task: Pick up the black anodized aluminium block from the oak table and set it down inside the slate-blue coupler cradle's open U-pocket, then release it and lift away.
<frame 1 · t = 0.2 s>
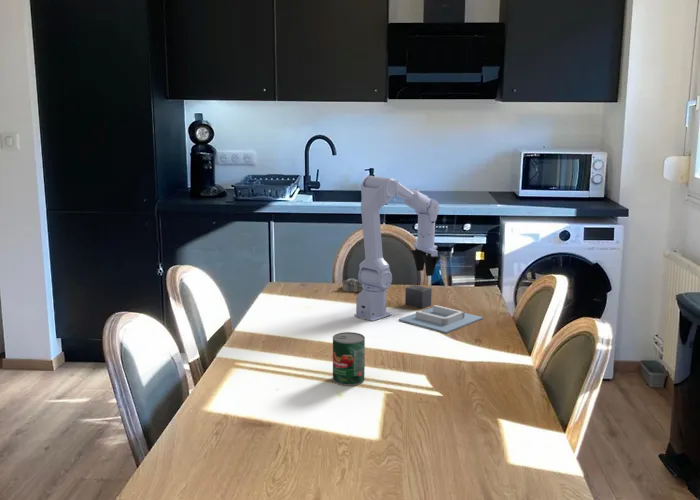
hand: (424, 273, 246), 10 cm above the table, fingers open, 7 cm apart
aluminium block: (418, 305, 242), on the table
coupler cradle: (438, 319, 227), on the table
canned tomato: (348, 380, 178), on the table
egg carton: (357, 290, 261), on the table
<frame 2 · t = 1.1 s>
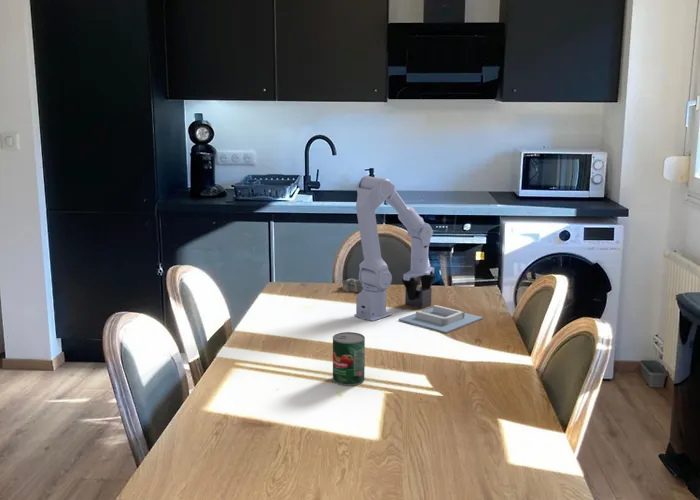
hand: (418, 297, 241), 3 cm above the table, fingers open, 7 cm apart
nothing on the table moved.
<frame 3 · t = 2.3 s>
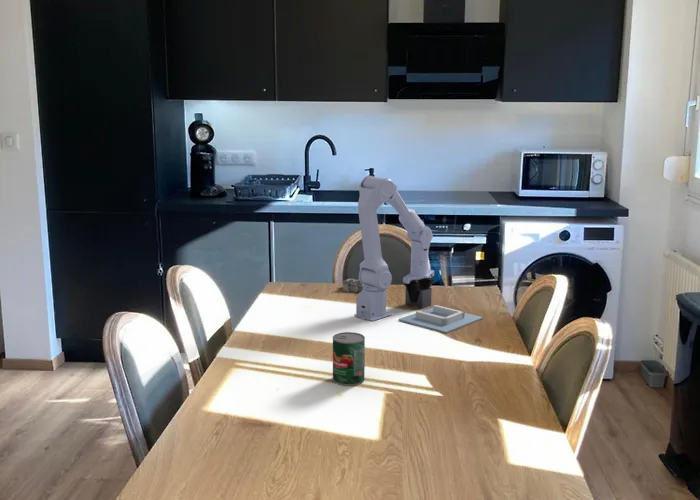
hand: (418, 300, 242), 2 cm above the table, fingers closed on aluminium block, 5 cm apart
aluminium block: (418, 305, 242), on the table, touching gripper
everything else where it was.
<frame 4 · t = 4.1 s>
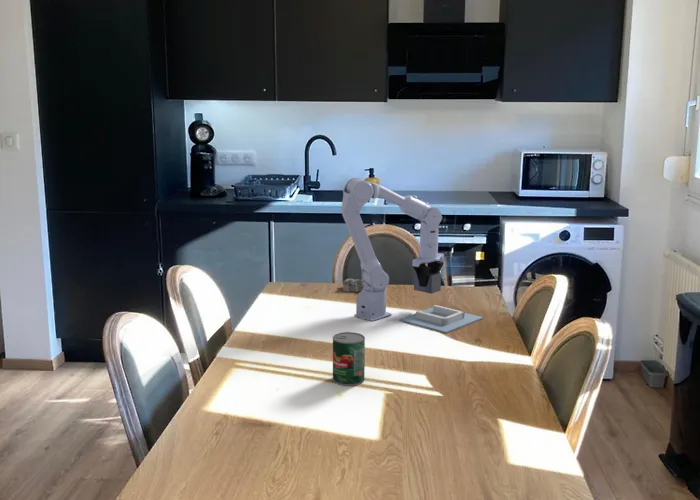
hand: (427, 284, 233), 9 cm above the table, fingers closed on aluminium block, 5 cm apart
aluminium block: (427, 290, 234), point 7 cm above the table, touching gripper
everything else where it was.
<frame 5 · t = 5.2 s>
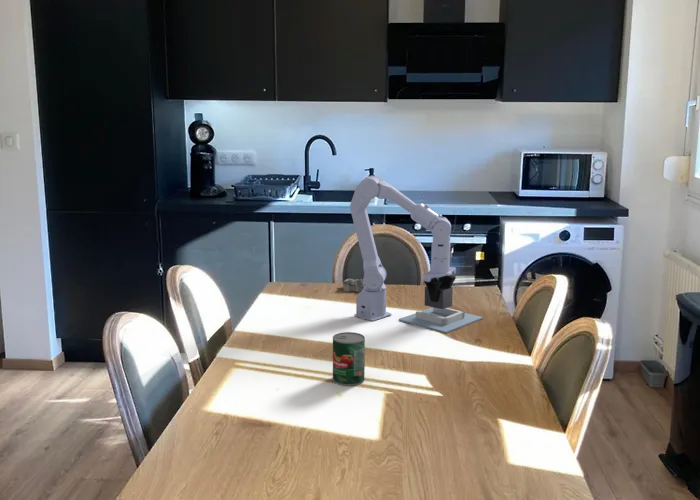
hand: (439, 299, 226), 6 cm above the table, fingers closed on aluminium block, 5 cm apart
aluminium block: (438, 305, 226), point 4 cm above the table, touching gripper
everything else where it was.
when the fingers open (4 cm above the table, at t = 6.2 s): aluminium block drops 1 cm, resting on coupler cradle.
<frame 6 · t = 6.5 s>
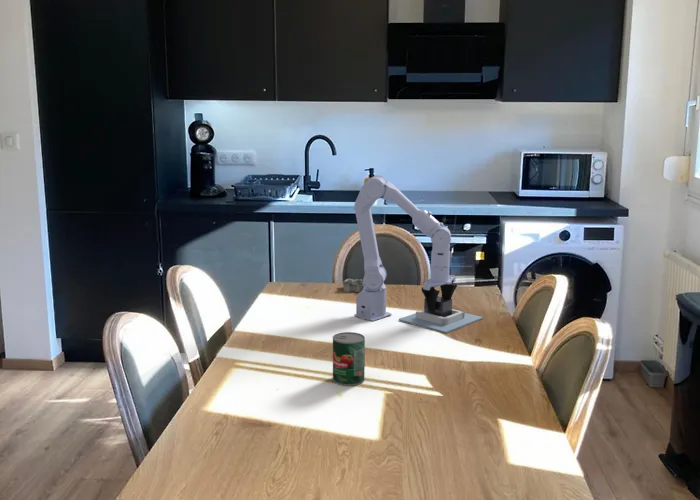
hand: (438, 308, 226), 4 cm above the table, fingers open, 7 cm apart
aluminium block: (437, 317, 227), resting on coupler cradle
everything else where it was.
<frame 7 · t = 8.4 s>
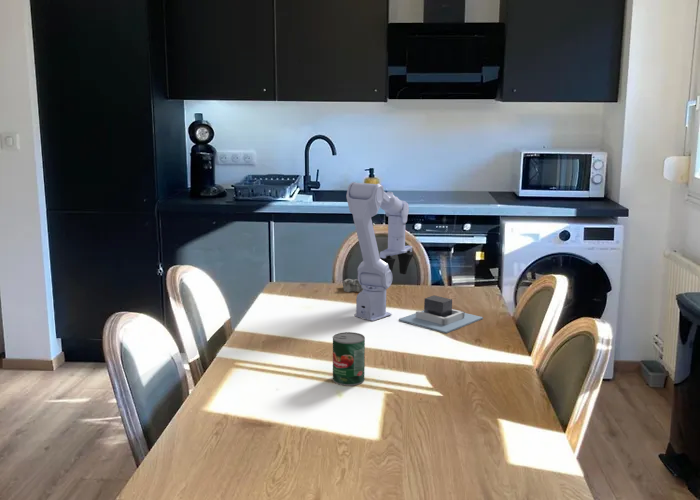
hand: (395, 275, 242), 9 cm above the table, fingers open, 7 cm apart
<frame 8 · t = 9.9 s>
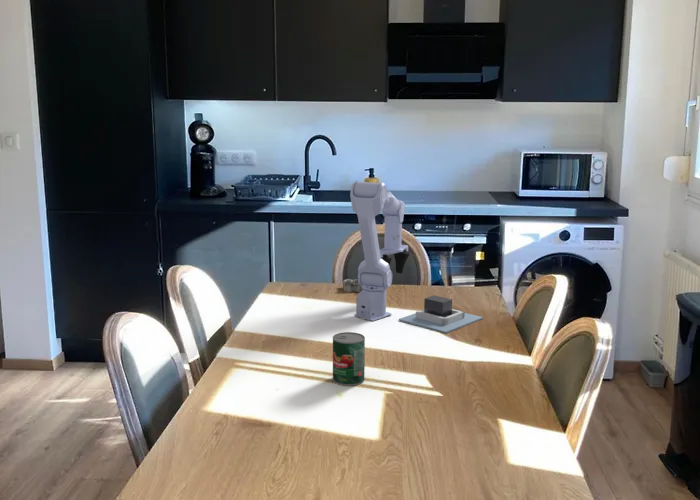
hand: (392, 274, 244), 9 cm above the table, fingers open, 7 cm apart
at the end: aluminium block 0.3 cm off-centre on the coupler cradle, point 0.5 cm above the coupler cradle's base; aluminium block tilted 0°; the gripper is holding nothing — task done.
